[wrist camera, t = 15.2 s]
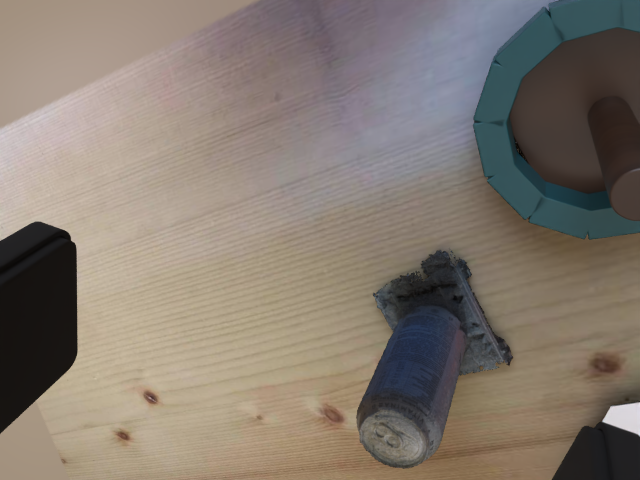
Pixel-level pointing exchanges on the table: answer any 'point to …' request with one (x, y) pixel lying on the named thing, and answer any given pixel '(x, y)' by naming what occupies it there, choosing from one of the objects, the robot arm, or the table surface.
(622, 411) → the plate
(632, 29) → the ring
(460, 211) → the table surface
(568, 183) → the post
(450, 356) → the can on ragged base
